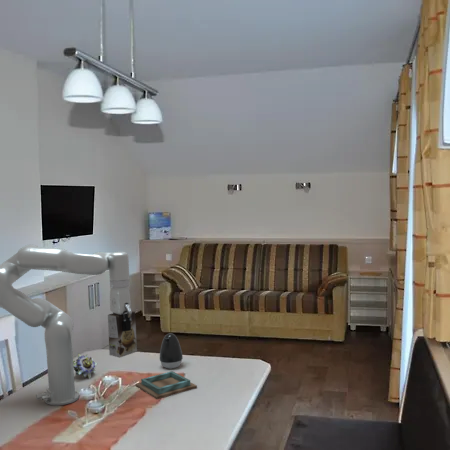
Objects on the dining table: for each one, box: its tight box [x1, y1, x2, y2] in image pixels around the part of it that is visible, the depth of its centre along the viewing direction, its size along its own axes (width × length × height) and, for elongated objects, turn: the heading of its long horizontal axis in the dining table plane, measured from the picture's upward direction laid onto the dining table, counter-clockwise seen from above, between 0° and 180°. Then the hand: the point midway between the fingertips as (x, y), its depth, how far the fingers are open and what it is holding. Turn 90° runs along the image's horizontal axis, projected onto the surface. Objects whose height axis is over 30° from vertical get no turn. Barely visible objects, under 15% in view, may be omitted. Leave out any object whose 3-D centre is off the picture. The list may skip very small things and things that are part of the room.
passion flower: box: [73, 353, 98, 379], centre depth 235 cm, size 11×11×12 cm
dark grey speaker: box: [159, 332, 184, 370], centre depth 242 cm, size 10×10×15 cm
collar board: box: [135, 370, 198, 400], centre depth 218 cm, size 18×18×3 cm
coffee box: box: [107, 310, 138, 358], centre depth 212 cm, size 9×6×16 cm
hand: (122, 328), depth 212 cm, fingers closed on coffee box, 7 cm apart
